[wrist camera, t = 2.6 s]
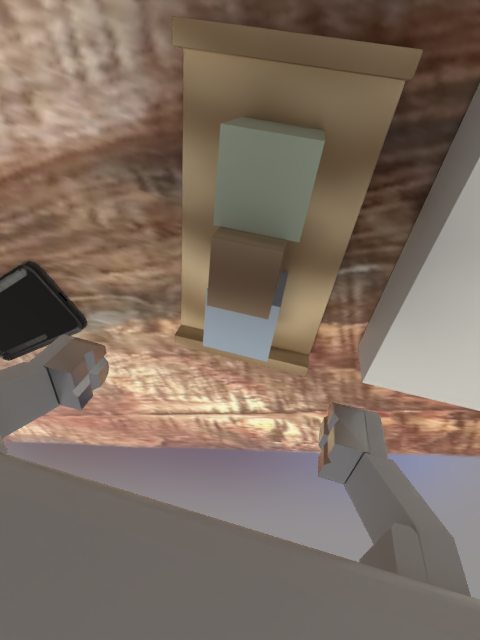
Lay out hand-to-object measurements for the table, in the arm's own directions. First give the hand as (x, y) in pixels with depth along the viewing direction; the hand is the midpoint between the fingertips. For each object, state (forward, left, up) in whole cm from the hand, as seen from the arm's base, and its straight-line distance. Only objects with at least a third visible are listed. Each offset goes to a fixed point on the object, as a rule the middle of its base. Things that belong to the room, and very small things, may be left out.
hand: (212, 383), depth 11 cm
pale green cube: (-5, 0, -13) cm, 13 cm away
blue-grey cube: (+4, 0, -13) cm, 13 cm away
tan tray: (0, 0, -15) cm, 15 cm away
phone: (+14, -24, -15) cm, 31 cm away
